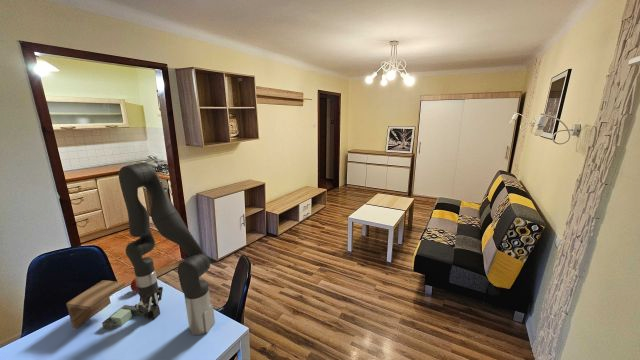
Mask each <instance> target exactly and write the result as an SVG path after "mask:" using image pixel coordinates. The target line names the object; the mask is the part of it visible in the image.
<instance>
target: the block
mask: <svg viewBox="0 0 640 360" xmlns="http://www.w3.org/2000/svg"><path fill="white" fill-rule="evenodd" d="M119 309H120V308H119ZM119 309H118V310H119ZM118 310H116V311H117V312H116V311H115V312H116V313H115V312H114V313H115V314H114V313H113V314H114V315H113V314H111V315H112V316H111V315H110V316H111V321H113V322H114V326H121V327H123V326H124V325H125V324H126V323H128V322H129V321H130V320H131V319H132V318H133V315H131V310H126V309H120V310H119V311H118Z"/></svg>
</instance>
